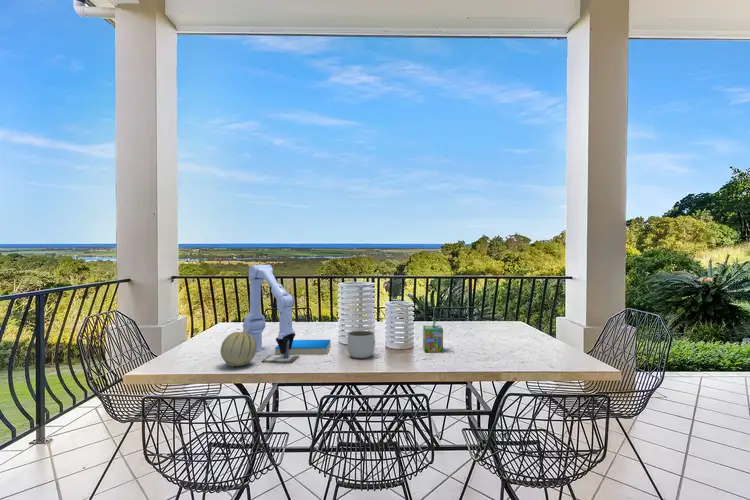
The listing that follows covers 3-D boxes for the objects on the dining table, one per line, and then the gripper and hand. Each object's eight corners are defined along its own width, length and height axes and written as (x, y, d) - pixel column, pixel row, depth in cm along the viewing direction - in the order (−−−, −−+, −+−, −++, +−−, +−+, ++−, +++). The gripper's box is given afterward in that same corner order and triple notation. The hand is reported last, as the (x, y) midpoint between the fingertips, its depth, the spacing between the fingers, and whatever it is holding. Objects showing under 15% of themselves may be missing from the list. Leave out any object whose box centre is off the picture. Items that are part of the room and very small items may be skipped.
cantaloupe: (213, 370, 160) (213, 334, 160) (231, 360, 174) (231, 327, 174) (246, 371, 158) (246, 335, 158) (262, 361, 172) (262, 328, 172)
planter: (374, 360, 173) (374, 335, 173) (347, 360, 173) (346, 336, 173) (374, 352, 185) (374, 330, 185) (348, 353, 185) (348, 330, 185)
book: (327, 347, 183) (274, 347, 183) (327, 356, 183) (274, 356, 183) (330, 339, 200) (282, 339, 200) (330, 347, 200) (282, 347, 200)
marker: (282, 358, 173) (282, 341, 173) (284, 357, 176) (284, 339, 176) (287, 358, 173) (287, 341, 173) (289, 357, 176) (289, 339, 176)
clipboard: (261, 362, 171) (261, 359, 171) (270, 356, 181) (270, 353, 181) (291, 363, 169) (291, 359, 169) (299, 357, 179) (298, 354, 179)
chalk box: (422, 348, 194) (422, 318, 194) (441, 348, 194) (440, 318, 194) (424, 352, 185) (424, 322, 185) (443, 352, 184) (443, 322, 185)
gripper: (288, 324, 167) (289, 355, 167) (299, 319, 181) (299, 347, 181) (273, 324, 168) (273, 355, 168) (284, 318, 182) (285, 347, 182)
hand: (286, 351), depth 175 cm, fingers open, 7 cm apart
